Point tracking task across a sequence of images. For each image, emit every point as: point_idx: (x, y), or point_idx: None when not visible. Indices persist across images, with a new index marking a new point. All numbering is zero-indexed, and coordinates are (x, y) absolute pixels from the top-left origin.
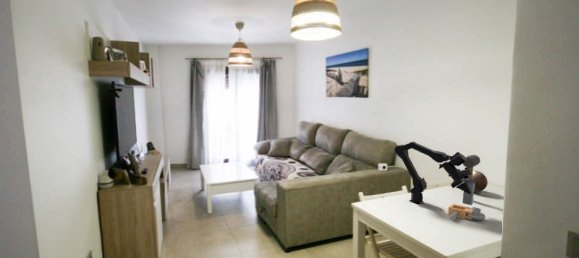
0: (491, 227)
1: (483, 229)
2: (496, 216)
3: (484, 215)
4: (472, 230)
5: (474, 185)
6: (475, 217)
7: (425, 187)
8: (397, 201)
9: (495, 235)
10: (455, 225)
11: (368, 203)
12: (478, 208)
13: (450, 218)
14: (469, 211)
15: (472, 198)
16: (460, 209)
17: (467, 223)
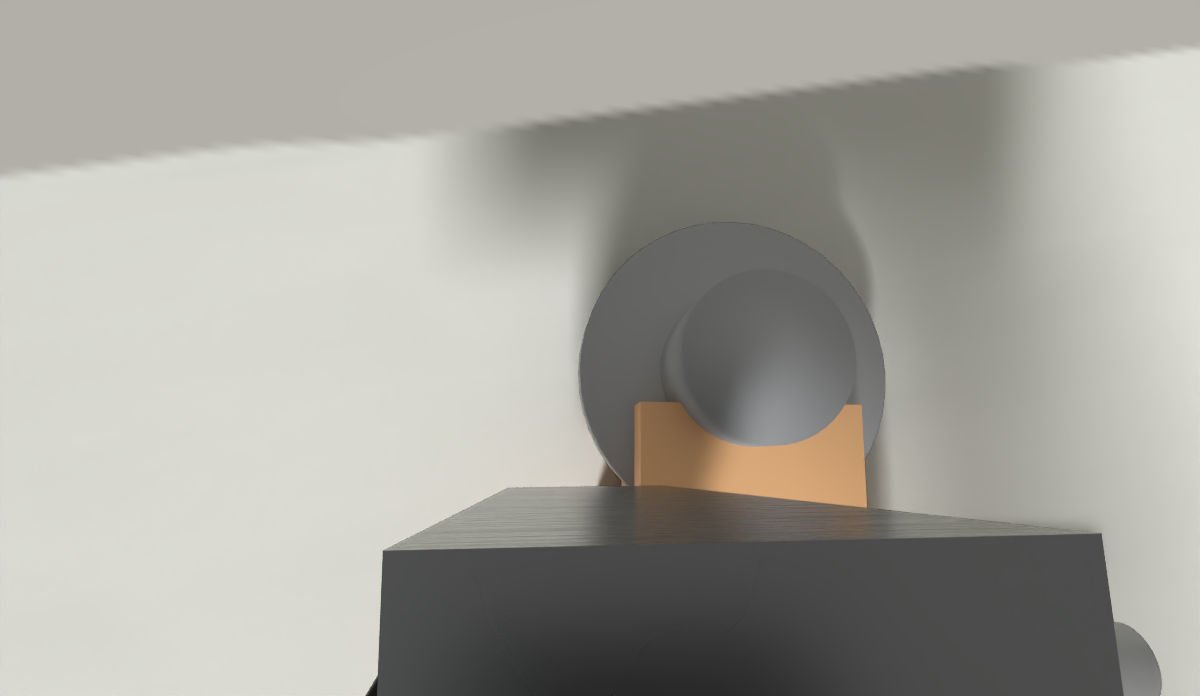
0: (868, 138)
1: (1024, 207)
2: (320, 152)
3: (696, 236)
4: (1174, 310)
5: (480, 524)
6: (872, 342)
7: None
8: None
9: (1098, 62)
10: (1196, 542)
11: None
12: (703, 322)
13: None
14: (849, 459)
15: (622, 490)
16: None
17: (981, 429)
